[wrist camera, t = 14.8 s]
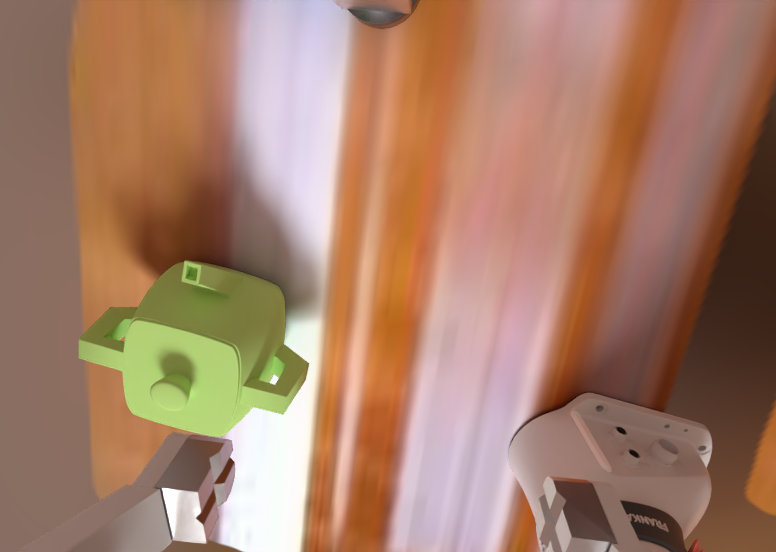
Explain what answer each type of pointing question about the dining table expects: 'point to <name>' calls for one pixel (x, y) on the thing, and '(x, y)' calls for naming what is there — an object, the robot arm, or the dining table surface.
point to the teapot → (200, 349)
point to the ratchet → (382, 17)
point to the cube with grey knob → (377, 5)
